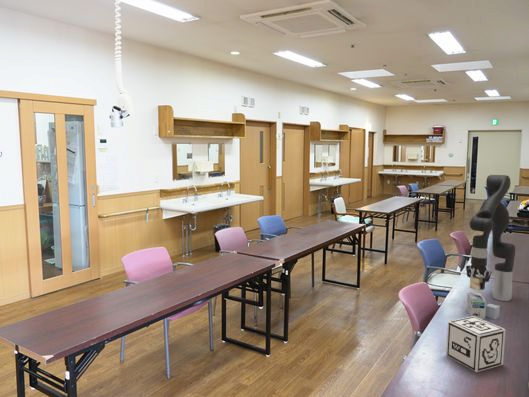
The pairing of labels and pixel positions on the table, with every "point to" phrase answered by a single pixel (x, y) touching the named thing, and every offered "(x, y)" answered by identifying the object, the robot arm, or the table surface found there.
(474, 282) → the maple block
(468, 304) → the light bulb box
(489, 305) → the grey-blue block
